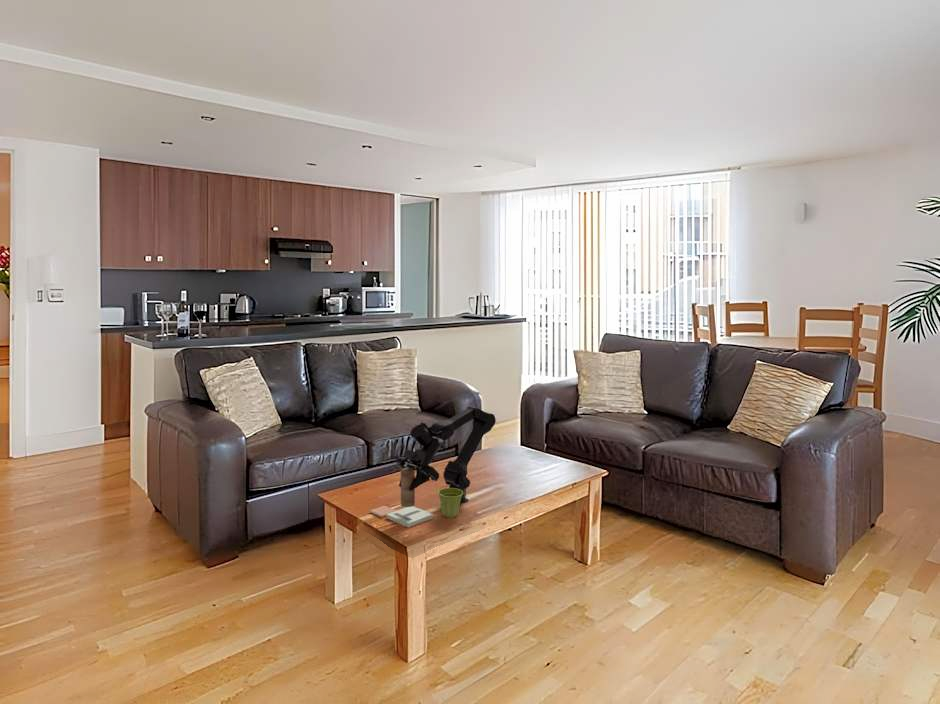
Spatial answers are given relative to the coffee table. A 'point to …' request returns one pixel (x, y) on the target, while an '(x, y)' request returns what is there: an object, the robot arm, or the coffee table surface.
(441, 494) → the plant pot
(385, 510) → the terracotta tile
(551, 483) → the coffee table surface
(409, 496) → the walnut post
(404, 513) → the letter board
